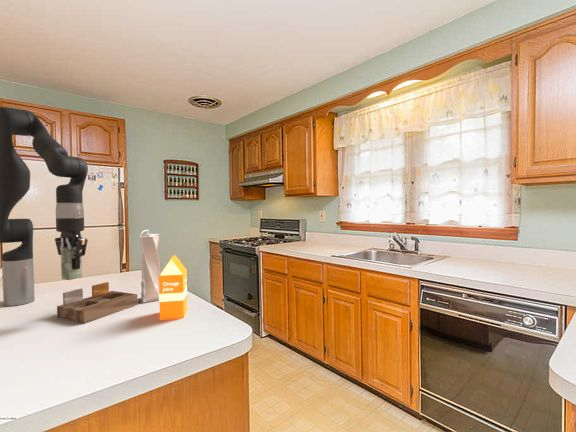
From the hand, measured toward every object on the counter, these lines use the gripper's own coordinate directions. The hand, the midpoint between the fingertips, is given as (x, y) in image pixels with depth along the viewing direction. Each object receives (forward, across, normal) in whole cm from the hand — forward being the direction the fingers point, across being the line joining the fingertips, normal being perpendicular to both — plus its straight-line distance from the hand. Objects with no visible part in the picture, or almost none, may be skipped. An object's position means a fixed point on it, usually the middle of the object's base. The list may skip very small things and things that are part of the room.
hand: (71, 268), depth 99 cm
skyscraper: (+17, +6, +26) cm, 32 cm away
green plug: (+3, 0, 0) cm, 3 cm away
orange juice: (+17, +28, +17) cm, 37 cm away
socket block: (+17, 0, +9) cm, 19 cm away
